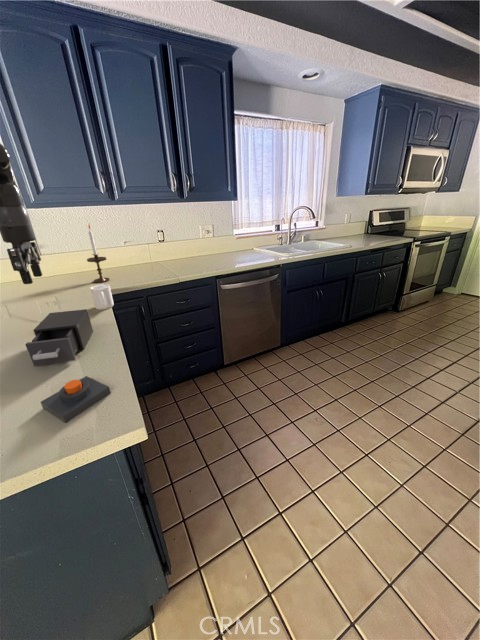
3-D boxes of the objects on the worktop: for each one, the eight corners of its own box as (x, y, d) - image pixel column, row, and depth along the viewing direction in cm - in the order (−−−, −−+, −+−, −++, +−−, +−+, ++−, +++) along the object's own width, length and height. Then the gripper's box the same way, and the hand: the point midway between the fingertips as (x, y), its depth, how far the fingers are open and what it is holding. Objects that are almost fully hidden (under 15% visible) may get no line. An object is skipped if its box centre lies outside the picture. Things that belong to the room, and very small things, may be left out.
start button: (71, 396, 65) (69, 390, 64) (63, 391, 66) (61, 386, 66) (85, 387, 68) (83, 382, 67) (77, 383, 69) (75, 378, 69)
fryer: (84, 349, 92) (76, 325, 88) (42, 355, 89) (33, 330, 85) (93, 331, 105) (87, 309, 101) (57, 335, 102) (49, 312, 98)
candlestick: (103, 277, 177) (90, 222, 162) (114, 279, 172) (102, 222, 158) (88, 282, 168) (73, 224, 153) (100, 284, 164) (85, 224, 149)
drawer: (70, 367, 81) (63, 345, 77) (27, 374, 78) (18, 351, 75) (85, 340, 96) (79, 321, 93) (49, 345, 93) (42, 325, 90)
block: (65, 423, 62) (60, 410, 60) (43, 408, 66) (37, 396, 64) (110, 393, 71) (107, 381, 69) (88, 382, 76) (84, 370, 74)
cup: (113, 302, 134) (108, 283, 130) (115, 310, 125) (111, 289, 120) (95, 305, 130) (90, 285, 126) (96, 313, 121) (91, 292, 117)
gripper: (9, 222, 79) (27, 275, 86) (-15, 226, 67) (8, 287, 74) (38, 221, 81) (54, 273, 88) (20, 225, 69) (40, 285, 76)
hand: (33, 279), depth 81 cm, fingers open, 8 cm apart
